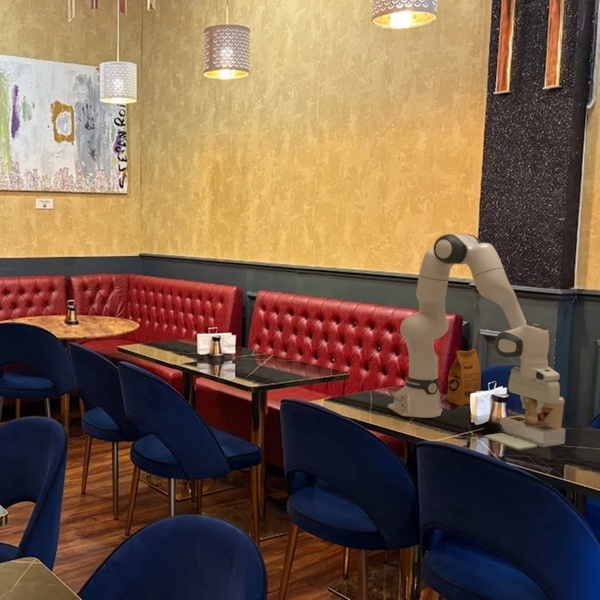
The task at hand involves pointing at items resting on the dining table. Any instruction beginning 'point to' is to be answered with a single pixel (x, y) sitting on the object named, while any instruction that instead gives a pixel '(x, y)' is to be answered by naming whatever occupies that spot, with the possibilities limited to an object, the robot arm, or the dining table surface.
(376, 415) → the dining table surface
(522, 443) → the mat
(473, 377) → the coffee package
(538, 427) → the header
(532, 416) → the plug
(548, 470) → the dining table surface
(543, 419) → the coffee cup
